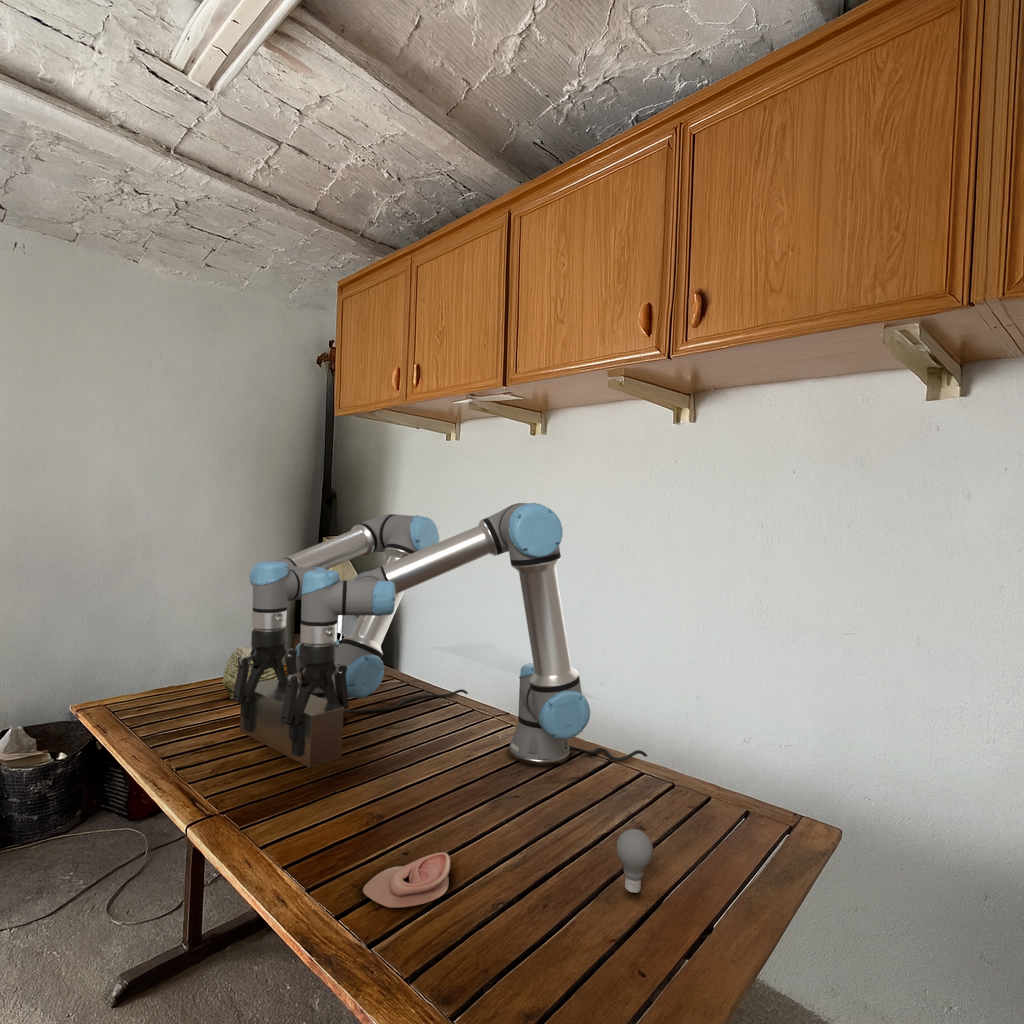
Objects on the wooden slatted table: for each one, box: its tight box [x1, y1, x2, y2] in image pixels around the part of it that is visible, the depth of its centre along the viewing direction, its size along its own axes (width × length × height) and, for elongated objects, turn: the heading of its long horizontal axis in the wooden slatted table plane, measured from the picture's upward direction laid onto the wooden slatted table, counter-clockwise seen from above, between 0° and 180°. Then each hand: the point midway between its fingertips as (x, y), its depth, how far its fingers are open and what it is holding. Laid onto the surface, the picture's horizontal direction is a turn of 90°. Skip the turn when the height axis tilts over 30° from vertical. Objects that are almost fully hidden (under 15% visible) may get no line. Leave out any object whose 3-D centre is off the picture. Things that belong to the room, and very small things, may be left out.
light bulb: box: [615, 828, 654, 894], centre depth 106 cm, size 6×6×10 cm
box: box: [239, 679, 345, 769], centre depth 141 cm, size 28×8×11 cm, turn 51°
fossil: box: [222, 646, 278, 699], centre depth 198 cm, size 9×18×15 cm, turn 132°
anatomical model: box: [362, 851, 451, 909], centre depth 104 cm, size 13×4×12 cm
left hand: (265, 725), depth 148 cm, fingers closed on box, 8 cm apart
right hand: (314, 748), depth 135 cm, fingers closed on box, 8 cm apart
